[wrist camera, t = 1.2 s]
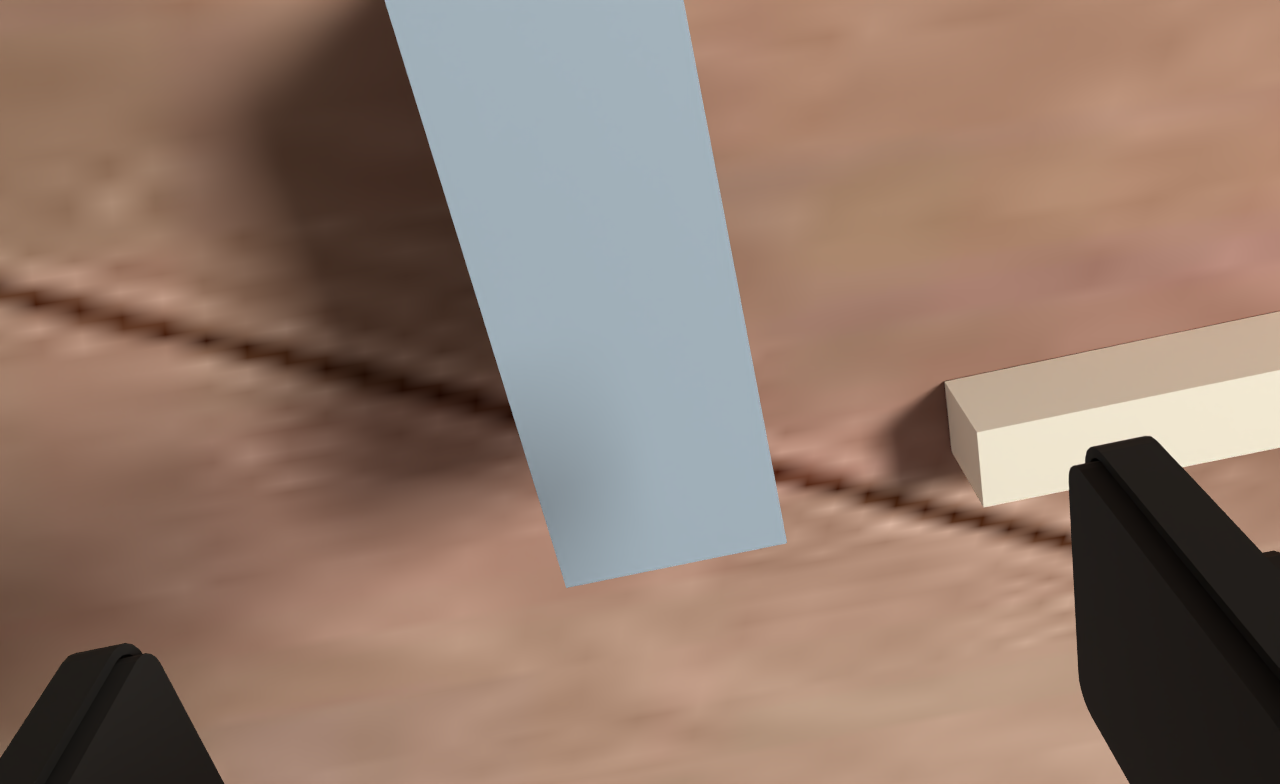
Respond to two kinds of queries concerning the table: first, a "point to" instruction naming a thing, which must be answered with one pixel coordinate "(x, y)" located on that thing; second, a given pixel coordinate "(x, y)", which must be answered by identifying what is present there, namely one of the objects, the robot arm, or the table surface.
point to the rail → (1118, 406)
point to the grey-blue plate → (600, 271)
